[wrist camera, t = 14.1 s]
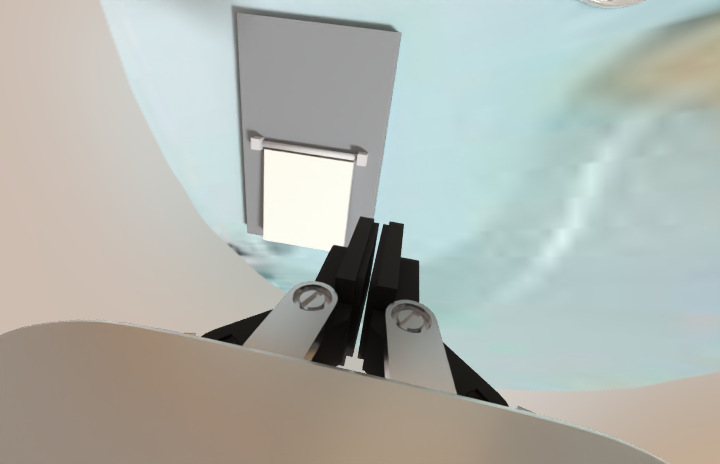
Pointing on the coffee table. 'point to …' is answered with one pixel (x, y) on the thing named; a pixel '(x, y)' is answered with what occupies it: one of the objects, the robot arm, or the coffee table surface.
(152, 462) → the robot arm
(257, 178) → the board
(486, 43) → the coffee table surface
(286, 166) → the tile
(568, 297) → the coffee table surface
